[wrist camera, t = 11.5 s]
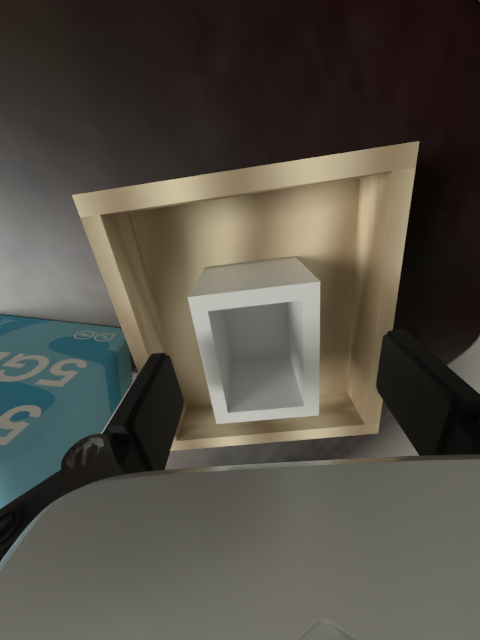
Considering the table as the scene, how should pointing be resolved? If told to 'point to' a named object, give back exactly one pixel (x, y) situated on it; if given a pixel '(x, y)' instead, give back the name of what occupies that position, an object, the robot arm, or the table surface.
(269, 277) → the white open box
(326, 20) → the table surface
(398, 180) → the wooden tray
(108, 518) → the robot arm
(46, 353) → the data package
